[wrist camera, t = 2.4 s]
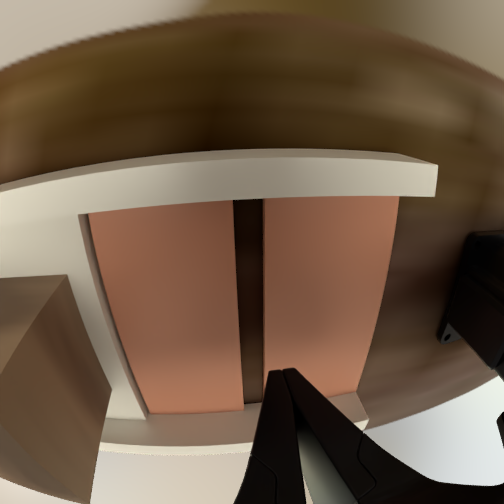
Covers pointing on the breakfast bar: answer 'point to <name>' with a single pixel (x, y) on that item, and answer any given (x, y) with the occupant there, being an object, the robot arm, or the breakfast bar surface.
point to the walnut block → (48, 389)
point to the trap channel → (214, 278)
